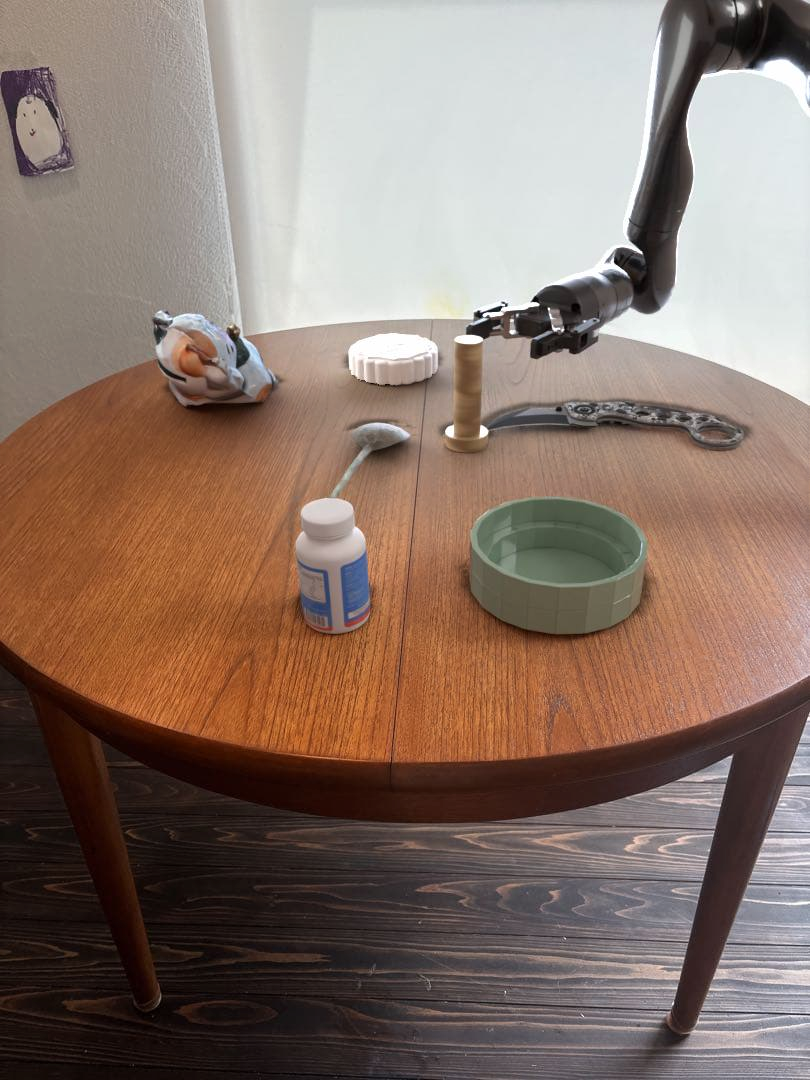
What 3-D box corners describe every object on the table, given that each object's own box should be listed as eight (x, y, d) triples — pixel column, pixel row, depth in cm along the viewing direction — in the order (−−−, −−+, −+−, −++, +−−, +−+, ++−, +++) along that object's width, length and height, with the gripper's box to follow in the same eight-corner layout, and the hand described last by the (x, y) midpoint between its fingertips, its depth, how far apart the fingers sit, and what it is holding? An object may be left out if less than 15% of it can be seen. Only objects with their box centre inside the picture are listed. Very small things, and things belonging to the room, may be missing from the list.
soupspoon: (418, 441, 99) (364, 437, 101) (417, 413, 98) (362, 410, 100) (351, 528, 81) (287, 522, 83) (347, 496, 80) (282, 490, 81)
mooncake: (441, 384, 113) (441, 358, 111) (348, 387, 112) (347, 361, 110) (435, 354, 123) (434, 329, 121) (350, 356, 123) (349, 331, 121)
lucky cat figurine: (296, 396, 110) (265, 317, 98) (220, 452, 107) (178, 377, 95) (232, 337, 117) (195, 256, 105) (159, 388, 114) (113, 311, 102)
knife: (483, 426, 98) (495, 389, 106) (483, 438, 99) (495, 401, 107) (747, 448, 92) (739, 407, 100) (744, 461, 93) (736, 419, 101)
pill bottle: (366, 593, 72) (360, 489, 67) (375, 631, 68) (369, 524, 63) (300, 600, 72) (289, 496, 67) (305, 640, 67) (294, 531, 62)
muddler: (485, 434, 99) (489, 331, 93) (490, 452, 95) (493, 346, 89) (444, 435, 99) (444, 332, 93) (446, 453, 95) (447, 347, 89)
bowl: (618, 543, 78) (624, 494, 76) (659, 638, 66) (668, 584, 64) (463, 547, 78) (464, 498, 76) (477, 643, 66) (479, 589, 64)
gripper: (526, 268, 109) (449, 298, 98) (630, 286, 101) (558, 320, 90) (523, 327, 112) (448, 362, 102) (623, 348, 105) (553, 388, 94)
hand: (500, 342), depth 96 cm, fingers open, 8 cm apart
